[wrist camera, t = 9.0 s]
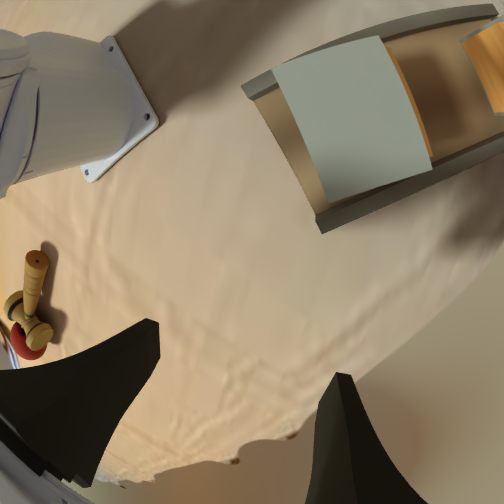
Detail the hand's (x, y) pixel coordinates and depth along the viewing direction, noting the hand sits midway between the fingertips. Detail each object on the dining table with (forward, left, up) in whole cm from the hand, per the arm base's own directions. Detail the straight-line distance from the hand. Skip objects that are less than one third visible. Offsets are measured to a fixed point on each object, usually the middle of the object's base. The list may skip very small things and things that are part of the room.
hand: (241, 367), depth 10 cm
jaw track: (-6, +13, -9) cm, 17 cm away
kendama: (-7, -30, -10) cm, 32 cm away
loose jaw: (-6, +8, -8) cm, 13 cm away
